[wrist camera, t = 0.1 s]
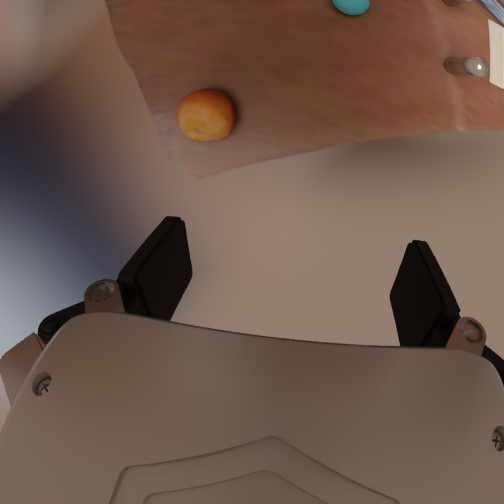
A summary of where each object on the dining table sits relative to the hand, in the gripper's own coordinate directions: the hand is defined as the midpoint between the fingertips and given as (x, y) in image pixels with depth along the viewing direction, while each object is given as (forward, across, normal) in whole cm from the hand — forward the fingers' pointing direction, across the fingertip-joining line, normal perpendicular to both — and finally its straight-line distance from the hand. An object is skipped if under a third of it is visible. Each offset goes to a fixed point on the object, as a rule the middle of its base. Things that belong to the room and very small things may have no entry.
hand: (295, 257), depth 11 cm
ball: (+29, -6, -20) cm, 35 cm away
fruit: (+31, +13, -2) cm, 34 cm away
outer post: (+31, -22, -14) cm, 41 cm away
